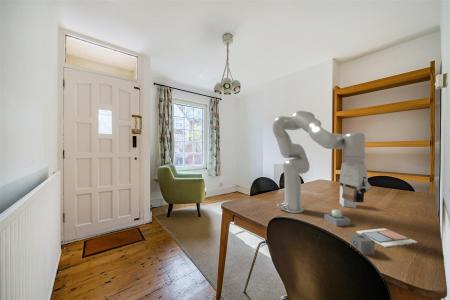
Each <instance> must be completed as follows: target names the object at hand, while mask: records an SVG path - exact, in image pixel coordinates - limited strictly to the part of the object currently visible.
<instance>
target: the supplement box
mask: <svg viewBox="0 0 450 300" xmlns="http://www.w3.org/2000/svg"><path fill="white" fill-rule="evenodd" d="M342 193H343V189H342V186H341V185H340V186H339V205H341V206H342V207H346V208H354V209H356V208H357V202H351V201H349V200H347V199H344V198H342Z"/></svg>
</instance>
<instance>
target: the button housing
mask: <svg viewBox="0 0 450 300" xmlns="http://www.w3.org/2000/svg"><path fill="white" fill-rule="evenodd" d="M323 219H324V221H326V222H328V223H330V224H331V225H334V226H335V227H343V226H350V225H351V218H348V217H346V216H344V215H342V218H341V219H336V218H334V217H332V213H324V214H323Z"/></svg>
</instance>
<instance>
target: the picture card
mask: <svg viewBox="0 0 450 300" xmlns="http://www.w3.org/2000/svg"><path fill="white" fill-rule="evenodd" d="M355 232H356V234H364V235H365V236H367V237H369V238H370V239H372V240H374V241H375V243H376V244H378V245H380V246H382V247H384V248H389V247H398V245H399V246H403V245H404V246H405V244H406V245H412V243H414V244H418V241H417V240H414V239H411V238H410V237H408V236H405V235H402V234H400V233H399V232H396V231H393V230H391V229H388V228H385V227H384V228H383V227H382V228H374V229H373V228H372V229H364V230H356V231H355Z"/></svg>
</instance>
